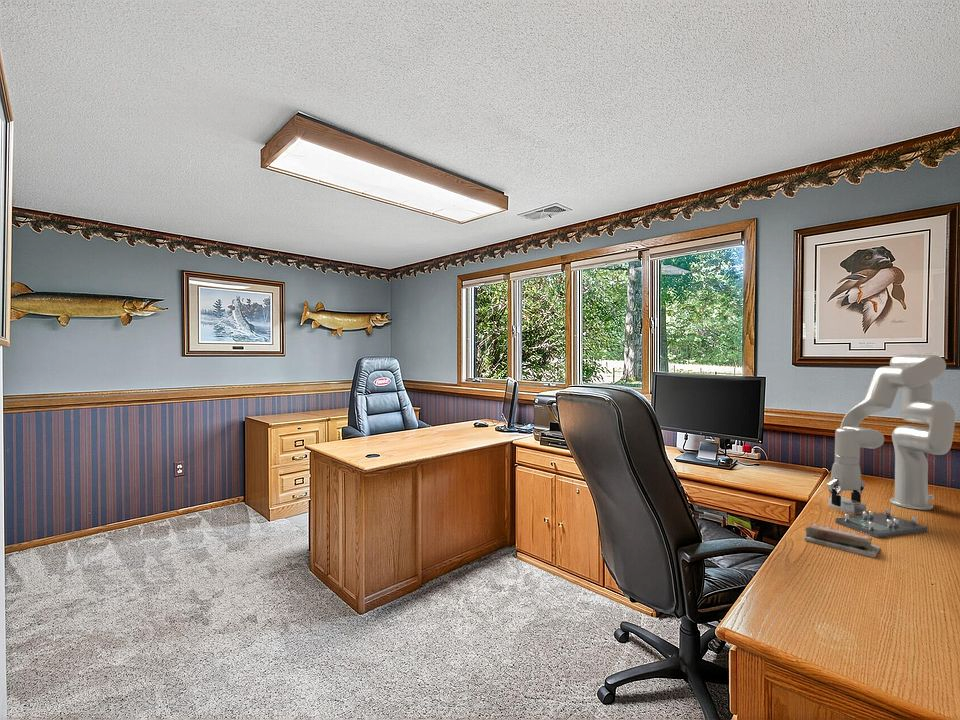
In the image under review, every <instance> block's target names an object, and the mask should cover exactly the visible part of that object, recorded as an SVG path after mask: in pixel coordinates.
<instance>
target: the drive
mask: <svg viewBox="0 0 960 720" xmlns="http://www.w3.org/2000/svg"><path fill="white" fill-rule="evenodd" d="M831 502H832V496H829V497H828V507H829V506H831V507H830V508H832V507H834V508H833V509H835V508H837V509H836V510H838V509H839V510H838V511H840V510H842V511H841V512H843V511H845V512H844V513H846V512H848V513H847V514H849V513H851V514H850V515H852V514H854V515H853V516H857V515H856V514H862V515H863V511H864V512H867V504H866V503H863V502H861V503H860V502H857V501H854V500H851V498H847V497H845V496H841V506H836V505H833V504H832V503H831Z"/></svg>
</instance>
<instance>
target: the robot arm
mask: <svg viewBox="0 0 960 720" xmlns="http://www.w3.org/2000/svg"><path fill="white" fill-rule="evenodd" d="M946 368H947V363H946V360H945V359H944V358H942V357H941V356H938V355H937V354H936V355H934V354H898V355H895V356H893V357H891V358H890V361H889V365H885V366H880V367H878V368H877V369H876V370H875V371H874V372H873V376H872V378H871V380H870V383H869V384H868V388H867V390H866V392H865V395H864V398H863V399H862V401H860V402H858V403H857V404H856V405H855V406H853V407H851V408H850V410H849V411H847V413H845V415H844V417H843V418H842V421H841V423H840V426H839V428H836V429H835V431H834V432H835V433H834V463H832V466H831V472H830V480H829V482H828V483H827V484H826V485H827V487H828V491H829V492H830V494H831V497H832V502H831V503H832V504H833V505H836V506H841V497H842V496H841V493H842V492H848V491H851V494H850V497H851V498H850V499H851V500H854V501H857V502H860V503H862V501H861V500H862V499H861V498H862V494H863V491H864V489H865V485H866V482H865V481H864V480H863V479H862V473H861V472H862V471H861V465H860V462H861V461H860V455H861V453H860V452H861V451H860V450H861V449H862V448H865V449H870V450H871V449H878V448H880V447H881V446H883V445H884V444H885V443H884V442H885V436H884V434H883V433H881V431H879V430H876V429H873V428H867V427H863V426H860V423H862V421H864V419H865V418H867V417H869V416H871V415H875V414H878V413H881V412H885V411H888V410H890V409H891V408H892V405H893V403H894V401H895V399H896V395H897V393H898V391H899V389H902V396H901V397H902V398H901V403H900V413H899V414H900V417H901V418H902V420H904V421H905V422H909V423H915V424H922V425H928V427H929V428H928V427H922V426H916V425H907V424H906V425H899V426H897V427H895V428H894V429H893V431H892V433H891V440H892V444H893V448H894V497H890V498H889V502H890V503H891V504H893V505H895V506H898V507H902V508H906V509H911V510H912V509H913V510H919V511H929V510H931V511H932V510H933V509H934V505H933V504H932V503H930V502H929V500H930V501H931V500H935V498H936V497H935V495H934V494H928V488H929V487H928V486H929V485H928V482H929V477H928V475H929V471H928V470H929V464H928V463H929V461H928V459H927V457H926V455H925V454H931V455H937V456H941V455H942V456H943V455H946V454H947V453H949V452H950V450H951V448H952V444H953V438H954V433H955V432H954V431H955V426H956V425H955V424H956V412H955V410H954V409H955V408H953V406H952V405H951V404H950V403H947V402H945V401H940V400H933V391H934V390H933V388H934V387H933V385H932V382H931V381H933V380H935V379H937V378H939V377H940V376H942V375H943V374H944V372H945V371H946Z"/></svg>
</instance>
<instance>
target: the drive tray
mask: <svg viewBox="0 0 960 720" xmlns="http://www.w3.org/2000/svg"><path fill="white" fill-rule="evenodd" d="M891 514H892V513H891V508H886V509H885V513H884V512H878V513H874V511H873V510H868V512H867V511H866V512H864V511H863V514H862V515H852V516H850V514H849V513H844V517H837V518H835V519H834V520H835V522H834V523H836V524H839V525H841V526H843V525H844V527H846V526H847V527H846V528H849V529H852V530H854V529H855V531H857V530H858V532H860V531H862V532H861V533H863V532H864V533H863V534H865V533H867V534H866V535H868V534H870V535H869V536H871V535H872V536H871V537H873V536H875V537H874V538H876V537H877V539H880V538H879V537H881V538H887V536H889V537H895V536H894V535H896V536H901V535H900V534H904V535H910V533H911V534H916V533H917V534H918V532H919V533H925V532H928V526H924V525H922V524H918V523H917V517H916V516H913V515H912V516H911V517H910V518H911V521H908V520H905V519H903V518H900V517H896V516H894V515H891Z"/></svg>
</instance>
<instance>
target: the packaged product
mask: <svg viewBox="0 0 960 720" xmlns="http://www.w3.org/2000/svg"><path fill="white" fill-rule="evenodd" d="M805 530H806V531H805V532H806V534H805V536H804V537H803V539H804V541H805V542H809V543H813V544H817V545H822V546H824V545H825V547H828V546H829V547H828V548H832V547H833V548H834V549H836V548H837V550H840V551H845V552H848V553H853V554H857V555H860V554H861V556H865V557H870V558H873V557H875V558H876V557H877V555H878V554H879V551H880V545H877V544H872V540H873V538H872V536H870V535H865V534H861V533H858V532H857V533H856V532H852V531H848V530H844V529H839V528H835V527H832V526H827V525H822V524H818V523H813V522H811V523H810V524H809V525H807V527H806V528H805Z"/></svg>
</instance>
